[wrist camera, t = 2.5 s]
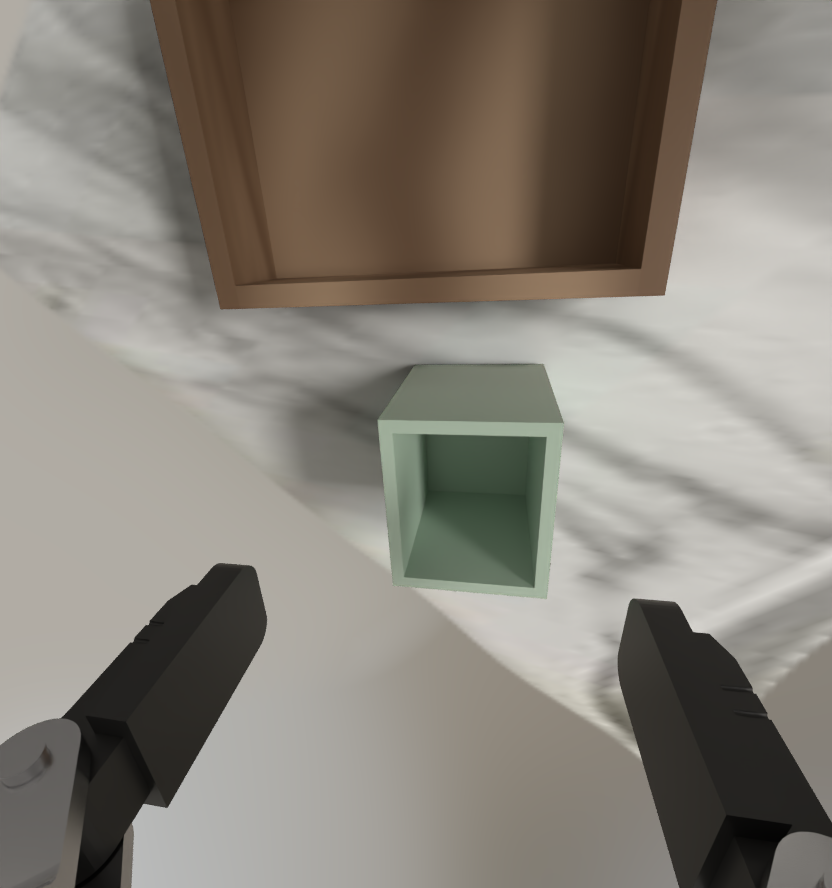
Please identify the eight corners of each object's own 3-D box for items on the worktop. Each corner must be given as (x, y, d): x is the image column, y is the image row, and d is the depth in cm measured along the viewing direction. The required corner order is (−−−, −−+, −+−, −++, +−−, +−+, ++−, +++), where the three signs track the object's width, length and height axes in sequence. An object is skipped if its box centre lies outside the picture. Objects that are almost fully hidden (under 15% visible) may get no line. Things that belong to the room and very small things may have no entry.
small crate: (543, 364, 17) (563, 423, 11) (533, 498, 19) (547, 599, 14) (414, 365, 18) (377, 420, 12) (421, 493, 20) (392, 585, 15)
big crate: (695, -167, 11) (776, -334, 8) (630, 283, 15) (664, 295, 12) (205, -67, 13) (112, -163, 10) (270, 296, 17) (220, 309, 14)
